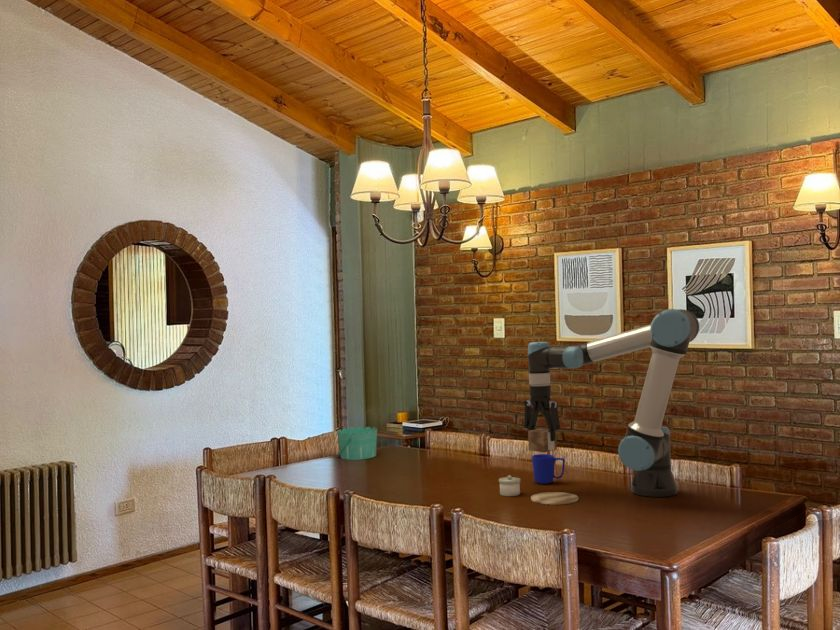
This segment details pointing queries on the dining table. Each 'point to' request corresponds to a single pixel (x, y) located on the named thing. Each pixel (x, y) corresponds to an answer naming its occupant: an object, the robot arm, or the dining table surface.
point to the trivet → (554, 498)
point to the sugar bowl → (509, 486)
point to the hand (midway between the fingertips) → (542, 449)
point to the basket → (357, 443)
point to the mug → (545, 468)
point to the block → (539, 440)
